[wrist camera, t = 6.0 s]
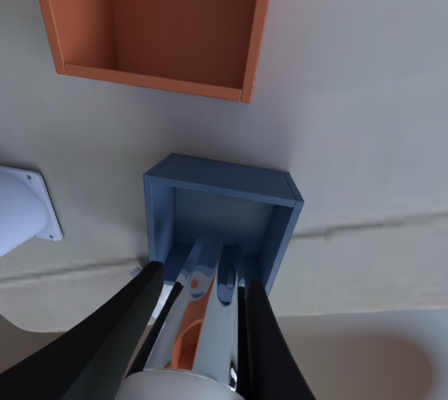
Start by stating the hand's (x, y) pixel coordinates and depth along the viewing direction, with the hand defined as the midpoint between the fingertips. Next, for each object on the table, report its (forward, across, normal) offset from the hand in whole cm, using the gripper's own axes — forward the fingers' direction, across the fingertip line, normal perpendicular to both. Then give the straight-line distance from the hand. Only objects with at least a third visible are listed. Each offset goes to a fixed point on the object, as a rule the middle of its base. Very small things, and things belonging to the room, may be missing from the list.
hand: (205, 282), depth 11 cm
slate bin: (+8, 0, 0) cm, 8 cm away
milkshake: (+3, 0, 0) cm, 3 cm away
